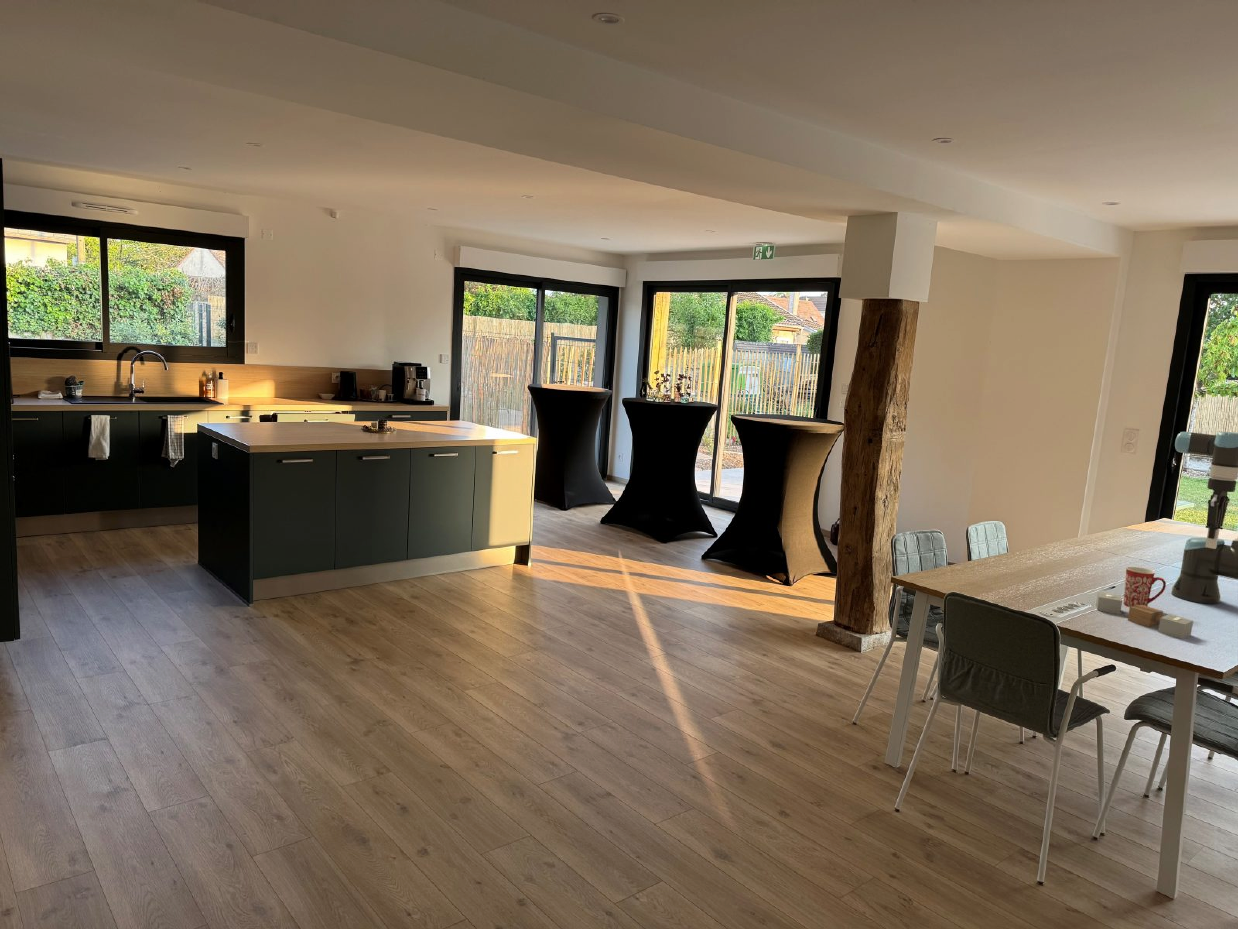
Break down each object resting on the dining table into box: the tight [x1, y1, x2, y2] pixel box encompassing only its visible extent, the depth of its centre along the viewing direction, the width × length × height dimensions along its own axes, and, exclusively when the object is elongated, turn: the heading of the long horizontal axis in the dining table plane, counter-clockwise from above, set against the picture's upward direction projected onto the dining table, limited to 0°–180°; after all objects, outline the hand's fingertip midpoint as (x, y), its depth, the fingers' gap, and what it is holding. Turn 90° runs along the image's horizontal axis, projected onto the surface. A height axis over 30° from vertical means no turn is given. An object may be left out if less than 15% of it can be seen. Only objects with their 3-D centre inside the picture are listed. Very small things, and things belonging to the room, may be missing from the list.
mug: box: [1123, 566, 1167, 608], centre depth 295 cm, size 13×9×14 cm
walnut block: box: [1127, 605, 1164, 628], centre depth 278 cm, size 7×7×5 cm
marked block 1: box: [1095, 591, 1123, 615], centre depth 290 cm, size 7×7×5 cm
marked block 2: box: [1157, 614, 1194, 640], centre depth 268 cm, size 7×7×5 cm
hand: (1210, 547), depth 278 cm, fingers closed
